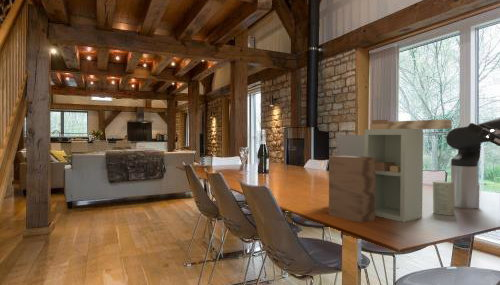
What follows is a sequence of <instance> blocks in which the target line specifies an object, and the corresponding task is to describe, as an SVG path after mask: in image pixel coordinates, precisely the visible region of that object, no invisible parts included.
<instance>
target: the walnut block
mask: <svg viewBox="0 0 500 285" xmlns="http://www.w3.org/2000/svg"><path fill="white" fill-rule="evenodd" d="M328 215H329V216H331V217H337V218H340V219H344V220H348V221H353V222H357V223H360V224H361V223H366V222H370V221H374V219H376V216H375V157H361V156H344V155H343V156H337V155H328Z"/></svg>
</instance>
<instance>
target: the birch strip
mask: <svg viewBox="0 0 500 285" xmlns="http://www.w3.org/2000/svg"><path fill="white" fill-rule="evenodd" d="M388 129H423V130H449V129H451V130H452V119H446V118H444V119H443V118H442V119H423V120H422V119H421V120H417V119H416V120H401V121H400V120H397V121H388Z"/></svg>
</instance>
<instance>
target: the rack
mask: <svg viewBox="0 0 500 285" xmlns="http://www.w3.org/2000/svg"><path fill="white" fill-rule="evenodd" d="M388 122H389V120H388V119H371V123H370V124H369V129H364V135H365V149H364V157H375V217H378V218H379V217H380V218H383V217H384V219H388V220H393V221H398V222H401V221H402V223H407V222H410V220H411V221H414V220H417V218H418V219H420V218H421V217H422V218H423V187H424V186H423V184H424V183H423V179H424V177H423V176H424V174H423V173H424V172H423V171H424V170H423V169H424V163H423V162H424V161H423V160H424V129H388ZM422 218H421V219H422ZM406 221H407V222H406Z"/></svg>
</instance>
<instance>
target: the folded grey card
mask: <svg viewBox="0 0 500 285" xmlns="http://www.w3.org/2000/svg"><path fill="white" fill-rule="evenodd" d="M364 149H365V134H339V135H338V134H337V135H336V156H343V155H344V156H361V157H364Z"/></svg>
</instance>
